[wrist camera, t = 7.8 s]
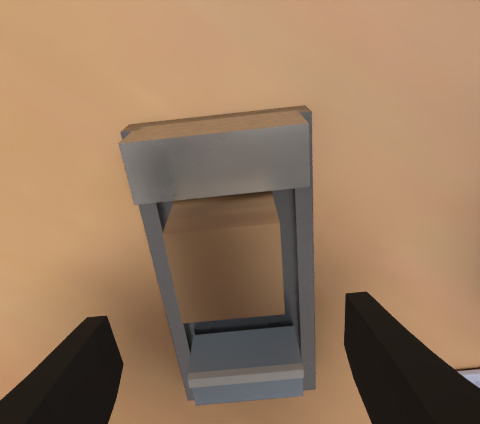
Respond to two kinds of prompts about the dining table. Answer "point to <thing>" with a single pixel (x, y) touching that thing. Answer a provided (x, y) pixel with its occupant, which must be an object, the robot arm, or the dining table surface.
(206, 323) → the vise
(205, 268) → the block
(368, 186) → the dining table surface
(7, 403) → the robot arm
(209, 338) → the block
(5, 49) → the dining table surface
